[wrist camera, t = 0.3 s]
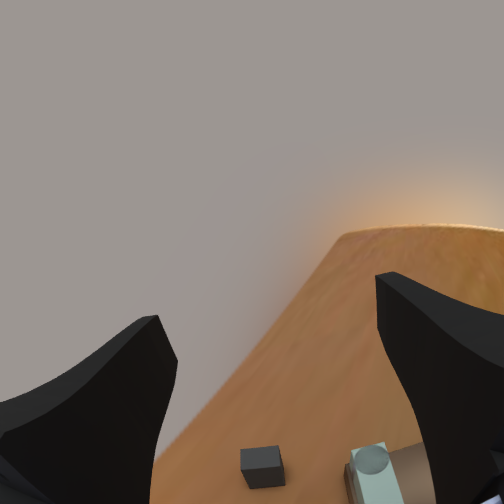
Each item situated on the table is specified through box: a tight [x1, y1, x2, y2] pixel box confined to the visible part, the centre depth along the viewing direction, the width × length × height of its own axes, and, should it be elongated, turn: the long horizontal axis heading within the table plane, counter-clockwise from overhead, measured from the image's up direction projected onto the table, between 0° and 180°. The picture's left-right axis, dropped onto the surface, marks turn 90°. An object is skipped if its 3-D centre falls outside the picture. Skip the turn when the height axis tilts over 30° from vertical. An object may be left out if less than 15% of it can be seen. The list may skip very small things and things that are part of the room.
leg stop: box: [241, 445, 285, 489], centre depth 22 cm, size 2×3×4 cm, turn 92°
